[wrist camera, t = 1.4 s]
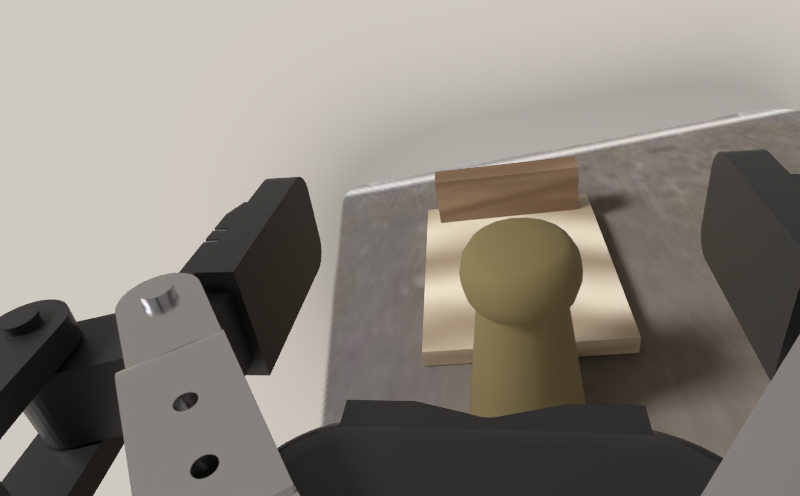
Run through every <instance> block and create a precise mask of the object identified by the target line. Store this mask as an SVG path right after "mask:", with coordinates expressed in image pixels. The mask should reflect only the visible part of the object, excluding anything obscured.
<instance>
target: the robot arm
mask: <svg viewBox="0 0 800 496" xmlns="http://www.w3.org/2000/svg"><path fill="white" fill-rule="evenodd" d="M701 244H702V251H703V255H704V257H705V260H706V262H707V263H708V265H709V267H710V269H711V271H712V273H713V275H714V276H715V278H716V280H717V282H718V284H719V286H720V288H721V289H722V291H723V293H724V295H725V297H726V299H727V301H728V302H729V304H730V306H731V308H732V310H733V312H734V314H735V316H736V317H737V319H738V321H739V323H740V325H741V327H742V329H743V330H744V332H745V334H746V336H747V338H748V340H749V342H750V343H751V345H752V347H753V349H754V351H755V353H756V355H757V356H758V358H759V360H760V362H761V364H762V366H763V368H764V369H765V371H766V373H767V375H768V377H769V379H770V381H771V382H770V383H769V385H768V387H767V388H766V390H765V392H764V393H763V395H762V397H761V398H760V400H759V401H758V403H757V405H756V406H755V408H754V410H753V411H752V413H751V414H750V416H749V418H748V419H747V421H746V423H745V424H744V426H743V427H742V429H741V431H740V432H739V434H738V436H737V437H736V439H735V441H734V442H733V444H732V445H731V447H730V449H729V450H728V452H727V454H726V455H725V457H724V458H722V457H720V456H718V455H716V454H714V453H712V452H711V451H709V450H707V449H705V448H703V447H701V446H698V445H696V444H693V443H691V442H689V441H686V440H684V439H681V438H678V437H675V436H672V435H669V434H666V433H662V432H658V431H654V430H652V429H651V425H650V421H649V418H648V414H647V410H646V407H645V406H641V405H588V404H564V405H559V406H553V407H548V408H542V409H537V410H531V411H526V412H521V413H515V414H510V415H504V416H499V417H492V418H489V417H480V416H476V415H471V414H467V413H463V412H459V411H454V410H450V409H446V408H442V407H437V406H433V405H429V404H425V403H420V402H416V401H377V400H347V402H346V405H345V409H344V412H343V416H342V419H341V422H338V423H333V424H330V425H326V426H323V427H320V428H317V429H314V430H311V431H309V432H306V433H304V434H302V435H300V436H298V437H296V438H294V439H292V440H290V441H288V442H286V443H285V444H283V445H281V446H280V447H278V448H277V447H276V445H275V443H274V440H273V438H272V436H271V434H270V432H269V429H268V427H267V425H266V423H265V420H264V419H263V416H262V414H261V412H260V409H259V407H258V405H257V403H256V401H255V398H254V396H253V394H252V392H251V389H250V387H249V385H248V383H247V381H246V379H245V375H270V374H271V371H272V369H273V367H274V365H275V363H276V361H277V359H278V357H279V354H280V352H281V350H282V348H283V346H284V344H285V341H286V339H287V337H288V335H289V333H290V331H291V328H292V326H293V324H294V322H295V320H296V318H297V315H298V313H299V311H300V309H301V307H302V304H303V302H304V300H305V298H306V296H307V294H308V291H309V289H310V287H311V285H312V282H313V281H314V278H315V276H316V274H317V272H318V270H319V267H320V263H321V242H320V237H319V233H318V229H317V225H316V221H315V217H314V213H313V209H312V205H311V201H310V197H309V192H308V188H307V186H306V183H305V181H304V180H303V179H302V178H301V177H292V178H275V179H266V180H265V181H264V182H263V183H262V184H261V186H260V187H259V188H258V190H257V191H256V192H255V193H254V195H253V196H252V197H251V199H250V200H249V201H248V202H244V203H243V204H241V205H240V206H239V207H237V208H235V209H234V210H232V211H231V212H229V213H228V214H226V215H225V217H224V218H223V219H222V220H221V221H220V223H219V224H218V225H217V226H216V228H215V231H212V233H211V234H210V235H209V236H208V237H207V239H206V242H205V243H203V244H202V245H201V246H200V247H199V249H198V250H197V251H196V253H195V254H194V255H193V256H192V257H191V258H190V260H189V261H188V262H187V263H186V265H185V266H184V267H183V268H182V270H181V271H180V272H179V273H171V274H166V275H161V276H158V277H155V278H152V279H150V280H147V281H145V282H143V283H141V284H139V285H137V286H136V287H134V288H133V289H131V290H130V291H128V292H127V293H126V294H125V295H124V296H123V297H122V298H121V299H120V301H119V302H118V304H117V306H116V309H115V314H110V315H106V316H101V317H97V318H92V319H88V320H84V321H79V322H76V320H75V318H74V316H73V315H72V313H71V311H70V309H69V307H68V306H67V304H66V303H64V302H63V301H60V300H42V301H37V302H33V303H29V304H26V305H24V306H21V307H18V308H16V309H14V310H12V311H10V312H8V313H6V314H4V315H2V316H1V317H0V439H1V437H2V436H3V435H4V434H5V433H6V431H7V430H8V429H9V428H10V426H11V425H12V424H13V423H14V422H15V421H16V419H17V418H18V417H19V416H20V414H21V413H22V412H24V414H25V415H26V416H27V418H28V419H29V421H30V422H31V423H32V425H33V426H34V428H35V429H36V430H37V432H38V435H37V436H36V437H35V439H34V440H33V441H32V443H31V444H30V445H29V446H28V448H27V449H26V450H25V452H24V453H23V454H22V456H21V457H20V458H19V460H18V461H17V462H16V464H15V465H14V466H13V467H12V469H11V470H10V472H9V473H8V474H7V476H6V477H5V478H4V480H3V481H2V482H0V496H93V495H94V493H95V491H96V489H97V488H98V486H99V485H100V483H101V481H102V480H103V478H104V476H105V475H106V473H107V471H108V469H109V468H110V466H111V465H112V463H113V461H114V460H115V458H116V456H117V454H118V453H119V451H120V449H121V448H122V446H123V444H125V451H126V457H127V463H128V471H129V478H130V484H131V491H132V496H800V174H790V173H789V172H788V171H787V170H786V169H785V168H784V167H783V166H782V165H781V164H780V163H779V162H778V161H777V160H776V159H775V158H774V157H773V156H772V155H771V154H770V153H769V152H768V151H767V150H765V149H762V150H746V151H730V152H719V153H718V154H717V155H716V156H715V158H714V160H713V164H712V168H711V174H710V180H709V186H708V191H707V197H706V203H705V209H704V215H703V221H702V227H701Z"/></svg>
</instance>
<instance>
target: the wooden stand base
mask: <svg viewBox="0 0 800 496" xmlns="http://www.w3.org/2000/svg"><path fill="white" fill-rule="evenodd" d="M578 171H579V167H578V164H577V162H576V159H575V157H574V156H572V157H564V158H555V159H546V160H537V161H529V162H520V163H511V164H502V165H493V166H485V167H476V168H467V169H458V170H449V171H441V172H435V186H436V193H437V200H438V207H439V209H434V210H428V231H427V253H426V276H425V298H424V321H423V343H422V354H423V359H424V364H425V366H437V365H452V364H468V363H472V362H473V344H474V327H475V309H474V308H473V307H472V306H471V305H470V304H469V302H468V300H467V298H466V296H465V293H464V291H463V288H462V285H461V282H460V275H459V270H460V263H461V257H462V251H463V250H464V248H465V247H466V245H467V244H468V242H469V241H470V239H471V238H472V236H473V235H474V234H475V233H476V232H477V231H479V230H480V229H481V228H483V227H484V226H487V225H489V224H491V223H494V222H496V221H500V220H504V219H509V218H524V217H528V218H535V219H542V220H545V221H548V222H550V223H553V224H556V225H557V226H559V227H560V228H562V229H563V230H565V231H566V232H567V233H568V235H569V236H570V237H571V238H572V240H573V241H574V243H575V244H576V246H577V247H578V248H579V252H580V255H581V258H582V266H583V281H582V284H581V287H580V289H579V292H578V294H577V297H576V299H575V302H574V304H573V305H572V306H571V307H570V310H571V316H572V322H573V328H574V334H575V340H576V346H577V352H578V357H580V356H596V355H612V354H628V353H639V352H640V344H641V336H640V333H639V330H638V328H637V325H636V322H635V320H634V317H633V315H632V312H631V309H630V307H629V304H628V301H627V299H626V296H625V294H624V291H623V288H622V286H621V283H620V281H619V278H618V275H617V273H616V270H615V267H614V265H613V262H612V260H611V257H610V254H609V252H608V249H607V246H606V244H605V241H604V239H603V236H602V233H601V231H600V228H599V225H598V223H597V220H596V218H595V215H594V212H593V210H592V207H591V204H590V202H589V199H588V197H587V194H578Z"/></svg>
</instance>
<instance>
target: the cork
mask: <svg viewBox="0 0 800 496" xmlns="http://www.w3.org/2000/svg"><path fill="white" fill-rule="evenodd" d="M459 275H460V282H461V285H462V288H463V291H464V293H465V296H466V298H467V300H468V302H469V304H470V305H471V306H472V307H473V308H474V309H475V327H474V344H473V362H472V379H471V397H470V414H471V415H476V416H480V417H489V418H492V417H499V416H504V415H510V414H515V413H521V412H526V411H531V410H537V409H542V408H548V407H553V406H559V405H564V404H586V400H585V394H584V388H583V382H582V376H581V370H580V364H579V358H578V352H577V346H576V340H575V334H574V328H573V322H572V316H571V310H570V307H571V306H572V305H573V304H574V302H575V299H576V297H577V294H578V292H579V289H580V287H581V284H582V281H583V266H582V258H581V255H580V252H579V248H578V247H577V246H576V244H575V243H574V241H573V240H572V238H571V237H570V236H569V235H568V233H567V232H566V231H565V230H563V229H562V228H560V227H559V226H557V225H556V224H553V223H550V222H548V221H545V220H542V219H535V218H528V217H524V218H509V219H504V220H500V221H496V222H494V223H491V224H489V225H487V226H484V227H483V228H481V229H480V230H479V231H477V232H476V233H475V234H474V235H473V236H472V238H471V239H470V241H469V242H468V244H467V245H466V247H465V248H464V250H463V251H462V257H461V263H460V270H459Z"/></svg>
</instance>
